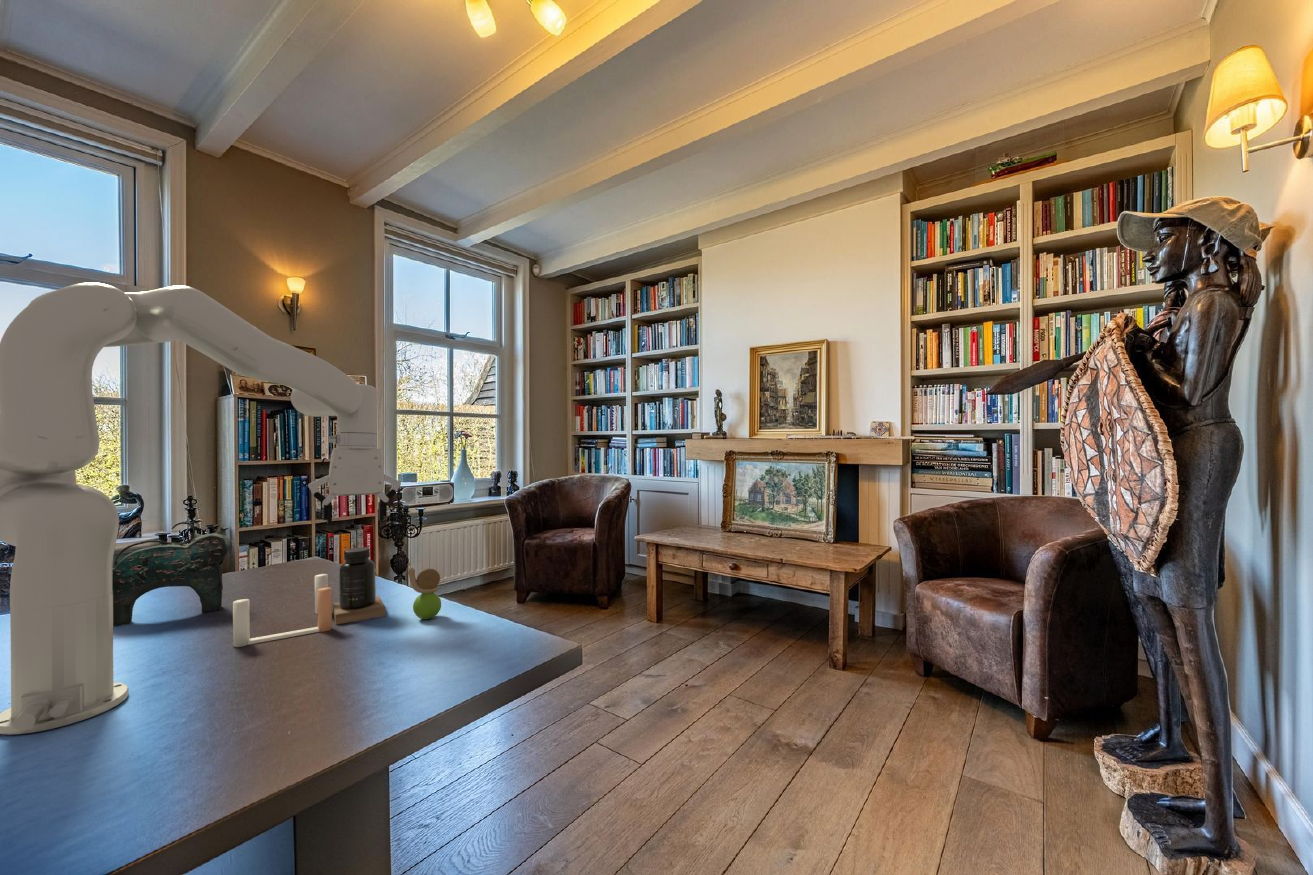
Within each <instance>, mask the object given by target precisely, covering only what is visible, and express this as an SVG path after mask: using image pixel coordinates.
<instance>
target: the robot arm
mask: <svg viewBox="0 0 1313 875" xmlns="http://www.w3.org/2000/svg"><path fill="white" fill-rule="evenodd" d="M176 341H180V342H182V343H183V344H185V345H187V346H189V347H190V348H192V349H194V350H196V352H200V353H201V354H203V355H205V356H207V357H208V358H210V359H212V360H213V361H214V362H216V363H218V364H220V365H221V366H224V367H225V368H227V369H229V370H231V371H232V372H234V373H236V374H237V375H239V376H243V377H246V378H247V377H248V378H249V379H253V380H257V381H262V382H267V383H273V384H278V385H282V386H284V387H285V386H286V387H289V388H290V389H291V388H292V391H291V394H290V402H291V405H292V406H293V408H294V409H295V410H296V411H298V412H299V413H300V414H303V415H305V416H308V417H316V418H318V417H320V418H321V417H330V416H331V417H334V416H336V434H335V435H331V436H328V443H332V444H336V447H335V448H332V451H331V455H330V461H329V468H328V475H325V476H322V477H321V478H318V479H317V480H316V479H315V480H314V481H312V482H310V483H308V484H307V487H308V488H309V490H310V492H311V494H312V496H313V497H314V498H315V499H316V500H317V501H318V502H320V503H321V504H323V510H322V511H323V513H322V514H323V515H322V516H323V520H322V521H326V524H327V525H331V524H332V523H333V505H332V501H333V500H334V499H335V498H336V497H338V496H340V497H341V496H343V497H344V496H345V497H347V496H367V495H368V496H369V495H376V497H378V498H379V502H377V503H378V504H377V506H378V507H377V520H378V521H380V522H384V518H385V517H388V512H387V511H388V509H387V508H388V502H389V501H390V500H391V499H392V498H393V497H394V496H395V495H396V493H397V491H398V490H399V488H400V486H401V484H402V483H401V481H400V480H398V479H395V478H393V477H391V476H388V475H386V474H384V473H385V472H384V458H383V453H382V452H383V451H382V448H378V404H379V403H378V397H379V396H378V389H377V388H376V387H374V386H373V385H369V384H363V383H357V382H356V381H354V379H353V378H351V377H350V376H349V375H348V374H346V373H344V372H343V371H342V370H341V369H339V368H338V367H336V366H335V365H333V364H331V363H330V362H329V361H326V360H324V358H323V359H322V358H321V357H318V356H317V355H315V354H313V353H310V352H307V351H305V350H302V349H300V348H299V347H298V348H297V347H295V346H293V345H291V344H289V343H287V342H283V341H281V340H278V339H276V338H273V337H272V336H270V335H268V334H267V333H265V332H264V331H262V330H260V329H259V328H257V327H256V326H254V325H253V324H251V323H250V322H248V321H247V320H245V319H244V318H242V317H241V316H240V315H238V314H236V313H235V312H233V311H232V310H230V309H229V308H227V307H226V306H224V305H223V304H222V303H220V302H218V301H217V300H216V299H214V298H212V297H211V296H209V295H207V294H206V293H204V292H203V291H202V290H199V289H197V288H194V287H191V286H188V285H171V286H170V285H169V286H165V287H160V288H157V289H152V290H148V291H139V292H138V291H137V292H124V291H123V290H121V289H120V288H117V287H116V286H113V285H109V284H106V283H101V282H92V281H91V282H80V283H75V284H70V285H67V286H65V287H61V288H59V289H56V290H52V291H49V292H46V293H42V294H41V295H39V296H36V297H35V298H34V299H32V300H31V301H30V303H29V304H28V305H27V306H26V307H25V308H24V309H22V310H20V312H19V313H18V314H17V315H16V316H15V317H14V319H13V320H12V321H11V322H10V323H9V324H8V326H7V328H6V329H5V331H4V333H3V334H2V337H1V340H0V541H1V542H3V543H4V544H7V545H10V546H13V547H15V552H14V558H13V563H12V568H11V572H10V573H11V574H10V585H9V608H10V609H9V611H10V620H9V621H10V624H9V626H10V630H9V631H10V707H8V708H7V709H5V710H3V711H2V712H0V735H6V736H7V735H9V736H11V735H14V736H15V735H23V734H24V735H25V734H32V733H33V734H34V733H37V732H43V731H48V730H52V729H56V728H57V729H58V728H61V727H65V726H69V725H72V724H75V723H78V722H81V721H85V720H88V719H91V718H93V717H96V716H98V715H101V714H103V713H105V712H107V711H109V710H111V709H112V708H114V707H116V706H118V705H119V704H121V703H122V702H124V701H125V700H126V699H127V697H129V691H130V690H129V685H128V684H125V683H124V682H116V681H114V627H113V583H112V580H113V569H114V567H113V566H114V555H115V550H116V543H117V540H118V533H119V527H120V526H119V525H120V517H119V512H118V509H117V506H116V505H115V503H114V501H113V500H112V499H111V498H110V497H109V496H108V495H107V494H105V493H104V492H102V491H101V490H99V489H97V488H95V487H92V486H88V485H84V484H79V483H77V477H76V471H78V470H80V469H82V468H84V467H86V466H87V465H89V464H90V463H92V461H93V460H94V459H95V458H96V456H97V455H98V453H99V449H100V436H99V428H98V424H97V416H96V410H95V408H96V407H95V402H94V393H93V366H94V364H95V360H96V358H97V356H98V354H99V353H100V352H101V351H102V350H103V349H104V348H112V347H114V348H116V347H126V346H127V347H128V346H139V345H150V344H151V345H152V344H159V343H160V344H161V343H167V342H168V343H169V342H176ZM385 482H386V483H389V484H391V487H390V489H389V490H387V492H386V493H384V486H385V485H384V484H385ZM326 483H328V491H329V492H328V493H327V495H325V496H324V495H323V494H322V493H321V492H320V491H319V489H318V488H319V487H320V486H322V485H325V484H326Z"/></svg>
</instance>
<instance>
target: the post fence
mask: <svg viewBox="0 0 1313 875" xmlns="http://www.w3.org/2000/svg"><path fill="white" fill-rule="evenodd" d="M328 576H329V575H328V573H320V574H316V575H314V614H315V615H317V626H314V627H309V628H303V629H297V630H291V631H287V632H280V633H276V634H275V633H274V634H269V635H264V636H256V637H252V638H250V635H251V634H250V632H251V631H250V628H251V626H250V623H251V622H250V621H251V620H250V617H251V616H250V605H251V604H250V598H249V599H248V598H243V599H237V600H234V601H233V602H232V647H233V648H240V647H245V646H248V645H254V644H259V643H265V642H270V641H275V640H281V639H287V638H291V637H296V636H297V637H298V636H303V635H309V634H315V633H322V632H328V631H331V630H332V629H333V602H332V600H333V596H332V595H333V592H332V589H333V588H332V587H329V586H328V585H329V584H328V583H329V582H328V578H329V577H328Z"/></svg>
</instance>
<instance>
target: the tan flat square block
mask: <svg viewBox="0 0 1313 875" xmlns="http://www.w3.org/2000/svg"><path fill="white" fill-rule="evenodd" d="M332 616H333V619H334V623H335V625H342V624H346V623H348V624H349V623H353V622H358V621H364V620H368V619H375V618H381V617H385V616H386V606H385V604H384V602H383V600H382V599H381V596H376V601H375V603H374V604H373V605H371V606H368V607H365V608H361V609H354V610H346V609H342V608H341V607H340V602H335V603H333V602H332Z"/></svg>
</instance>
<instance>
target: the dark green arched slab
mask: <svg viewBox="0 0 1313 875" xmlns="http://www.w3.org/2000/svg"><path fill="white" fill-rule="evenodd" d="M180 525H188V526H190V527H191V528H192V536H191V537H190V539H188V540H186V541H182V542H171V541H169V542H168V541H163V540H156V539H155V540H154V539H153V540H151V539H150V540H144V541H140V542H136V543H133V544H130V545H127V546H126V547H124V548H123V549H121V551H120V552H118V554H117V555H116V557H115V559H114V560H113V566H114V567H113V580H112V583H113V628H114V627H121V626H127V625H130V624H131V623H132V621H133V612H134V611H133V610H134V607H135V606H134V605H135V603H136V601H137V600H138V599H139V598H140V597H142V596H143V595H145V594H146V593H149V592H151V591H153V590H157V589H160V588H166V587H168V588H170V587H187V588H188V587H189V588H190V589H192V590H194V592H195V593H196V594H197V596H198V598H199V601H200V603H201V613H202V614H204V613H209V612H214V611H221V609H222V602H223V601H222V600H223V588H224V586H223V570H222V568H221V566H220V563H221V561H223V560H224V559H225V558H226V557H227V555H228V554H229V553H230V551H231V549H232V548H231V547H232V544H231V543H232V541H231V539H230V537H228V536H227V533H226V530H225V528H224V527H223V526H221V527H219V528H218V529H217V530H216V531H215V532H213V533H207V534H199V533H196V531H195V527H194V525H193V524H192V523H190V522H188V521H182V522H181V521H179V522H178V523H176V524H174V525H173V526H172V527H171V530H173V531H174V528H176V527H177V526H180ZM147 543H160V544H159V545H154V546H148V547H143V548H141V549H137V550H135V551H132V552H130V553H128V554H127V555H125V556H124V557H123V558H122V559H121V560H119V561H118V559H119V557H120V556H121V555H122V554H124V552H125V551H127V550H129V549H130V548H133V547H135V546H140V545H144V544H147Z"/></svg>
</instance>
